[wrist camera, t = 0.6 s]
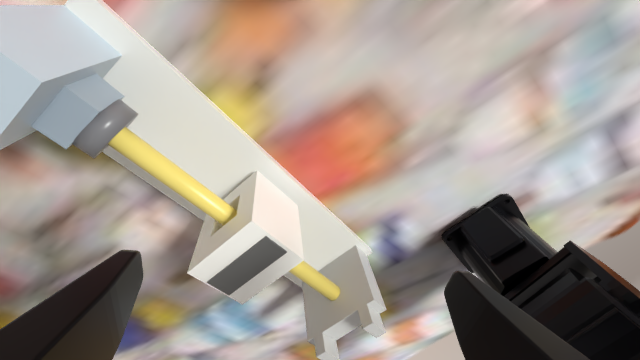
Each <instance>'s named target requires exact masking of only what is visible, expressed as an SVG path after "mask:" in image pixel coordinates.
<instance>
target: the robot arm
mask: <svg viewBox="0 0 640 360" xmlns="http://www.w3.org/2000/svg"><path fill="white" fill-rule="evenodd" d="M442 239H443V240H444V242H445V243H446V244H447V245H448V246H449V248H450V249H451V250H452V251H453V252H454V254H455V255H456V256H457V257H458V258H459V259H460V261H461V262H462V263H463V264H464V265H465V267H466V268H467V269H468V270H469V271H470V272H471V273H470V272H467V271H456V272H454V273H453V275H452V277H451V278H450V280H449V282H448V284H447V286H446V287H445V290H444V295H445V299H446V303H447V306H448V309H449V312H450V316H451V319H452V322H453V325H454V329H455V332H456V335H457V338H458V341H459V344H460V347H461V350H462V352H463V355H464V357H465V360H640V291H639V290H638V289H636V288H635V287H634V286H633V285H631V284H630V283H629V282H628V281H626V280H625V279H624V278H622V277H621V276H620V275H618V274H617V273H616V272H615V271H613V270H612V269H611V268H609V267H608V266H607V265H605V264H604V263H603V262H601V261H600V260H598V259H597V258H595V257H594V256H592V255H591V254H589V253H588V252H587V251H585V250H584V249H582V248H581V247H579V246H578V245H576V244H575V243H573V242H572V241H569V242H567V243H566V244H565V245H564V248H562V249H561V250H560V251H559V252H557V251H556V250H554V249H553V248H552V247H551V246H550V245H549V244H548V243H546V242H545V241H544V240H543V239H542V238H541V237H540V236H538V235H537V234H536V233H535V232H534V231H533V230H532V229H530V227H529V226H528V224H527V222H526V220H525V219H524V217H523V215H522V213H521V212H520V210H519V208H518V206H517V205H516V203H515V201H514V200H513V198H512V197H511V196H510V195H508V194H503V195H502V196H500V197H498V198H497V199H495V200H494V201H492V202H491V203H489V204H488V205H486V206H485V207H483V208H482V209H480V210H478V211H477V212H475V213H474V214H472V215H471V216H469V217H468V218H466V219H465V220H463V221H462V222H460V223H459V224H457V225H455V226H454V227H452V228H451V229H449V230H448V231H446V232H445V233H444V234H443V235H442ZM472 273H475V274H476V275H477V276H478V278H477V277H476V276H474V275H473V274H472ZM142 280H143V268H142V259H141V254H140V252H139V251H134V250H121V251H119V252H117V253H116V254H114V255H113V256H111V257H110V258H108V259H107V260H105V261H104V262H102V263H100V264H99V265H97V266H96V267H94V268H93V269H91V270H90V271H88V272H87V273H85V274H84V275H82V276H81V277H79V278H78V279H76V280H75V281H73V282H72V283H70V284H69V285H67V286H65V287H64V288H62V289H61V290H59V291H58V292H56V293H55V294H53V295H52V296H50V297H49V298H47V299H46V300H44V301H43V302H41V303H40V304H38V305H37V306H35V307H33V308H32V309H30V310H29V311H27V312H26V313H24V314H23V315H21V316H20V317H18V318H17V319H15V320H14V321H12V322H11V323H9V324H8V325H6V326H5V327H3V328H1V329H0V360H112V359H113V357H114V355H115V353H116V351H117V348H118V346H119V344H120V342H121V339H122V336H123V334H124V331H125V328H126V326H127V323H128V320H129V317H130V314H131V312H132V309H133V306H134V303H135V301H136V298H137V295H138V292H139V289H140V287H141V284H142Z"/></svg>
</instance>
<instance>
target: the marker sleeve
mask: <svg viewBox="0 0 640 360" xmlns="http://www.w3.org/2000/svg"><path fill="white" fill-rule="evenodd" d="M223 200H224V201H225V202H226V203H228V204H229V205H230V206H232V207H233V208H234V209H236V210H237V215H236V216H235V217H234V218H233V219H231V220H230V221H229V222H228V223H227V224H225V225H224V226H223V225H222V224H220V223H219V222H218V221H216V220H215V219H213V218H212V217H210V216H209V215H208V214H206V217H205V220H204V223H203V226H202V229H201V232H200V235H199V238H198V241H197V244H196V247H195V250H194V253H193V256H192V259H191V262H190V266H189V269H188V272H187V273H188V274H189V275H191V276H193V277H195V278H196V279H198V280H200V281H202V282H204V283H205V284H207V285H209V286H211V287H212V288H214V289H216V290H218V291H219V292H221V293H223V294H225V295H226V296H228V297H230V298H232V299H234V300H235V301H237V302H239V303H241V304H244V303H245V302H247V301H248V300H249V299H251V298H252V297H254V296H255V295H256V294H258V293H259V292H261V291H262V290H263V289H265V288H266V287H267V286H269V285H270V284H272V283H273V282H274V281H276V280H277V279H279V278H280V277H281V276H283V275H284V274H286V273H287V272H288V271H290V270H291V269H292V268H294V267H295V266H297V265H298V264H299V263H301V262H302V261H304V255H303V247H302V238H301V229H300V220H299V211H298V205H297V204H296V203H294V202H293V201H292V200H291V199H290V198H289V197H288V196H286V195H285V194H284V193H283V192H282V191H281V190H279V189H278V188H277V187H276V186H275V185H274V184H273V183H271V182H270V181H269V180H268V179H267V178H266V177H264V176H263V175H262V174H261V173H260V172H259V171H258V170H257V171H256V172H254V173H253V174H252V175H251V176H250V177H249V178H247V179H246V180H245V181H244V182H243V183H242V184H241V185H239V186H238V187H237V188H236V189H235V190H234V191H232V192H231V193H230V194H229V195H228V196H227V197H225V198H224V199H223Z"/></svg>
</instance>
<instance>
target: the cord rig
mask: <svg viewBox="0 0 640 360" xmlns="http://www.w3.org/2000/svg"><path fill="white" fill-rule="evenodd" d="M35 131H39V132H40V133H42V134H43V135H45V136H46V137H48V138H50V139H51V140H53V141H54V142H56V143H57V144H59V145H60V146H62V147H63V148H65V149H67V148H69V147H70V146H72V145H74V146H76V147H77V148H79V149H80V150H82V151H83V152H85V153H86V154H88V155H89V156H91V157H92V158H95V157H96V156H98V155H99V154H100V153H101V152H103V153H104V154H106V155H107V156H109V157H110V158H112V159H113V160H115V161H116V162H118V163H119V164H121V165H122V166H124V167H125V168H126V169H128V170H129V171H131V172H132V173H134V174H135V175H137V176H138V177H140V178H141V179H143V180H144V181H146V182H147V183H148V184H150V185H151V186H153V187H154V188H156V189H157V190H159V191H160V192H162V193H163V194H165V195H166V196H167V197H169V198H170V199H172V200H173V201H175V202H176V203H178V204H179V205H181V206H182V207H184V208H185V209H187V210H188V211H189V212H191V213H192V214H194V215H195V216H197V217H198V218H200V219H201V220H203V221H204V220H205V217H206V214H208V215H209V216H210V217H212V218H213V219H215V220H216V221H218V222H219V223H220V224H222V225H223V226H224V225H225V224H227V223H228V222H229V221H230V220H231V219H233V218H234V217H235V216H236V215H237V210H236V209H234V208H233V207H232V206H230V205H229V204H228V203H226V202H225V201H224V200H223V199H224V198H225V197H227V196H228V195H229V194H230V193H231V192H232V191H234V190H235V189H236V188H237V187H238V186H239V185H241V184H242V183H243V182H244V181H245V180H246V179H247V178H249V177H250V176H251V175H252V174H253V173H254V172H256V171H257V170H258V171H259V172H260V173H261V174H262V175H263V176H264V177H266V178H267V179H268V180H269V181H270V182H271V183H273V184H274V185H275V186H276V187H277V188H278V189H279V190H281V191H282V192H283V193H284V194H285V195H286V196H288V197H289V198H290V199H291V200H292V201H293V202H294V203H296V204H297V205H298V211H299V220H300V229H301V238H302V247H303V255H304V261H302V262H301V263H299V264H298V265H297V266H295V267H294V268H292V269H291V270H290V271H288V272H287V273H286V274H284V275H283V276H285V277H286V278H288V279H289V280H291V281H292V282H293V283H295V284H296V285H298V286H299V287H301V288H302V289H303V298H304V308H305V318H306V329H307V339H308V342H309V343H311V344H313V345H315V350H316V357H317V358H319V359H321V360H340V359H339V354H338V348H337V343H336V340H338V339H339V338H341V337H343V336H344V335H346V334H348V333H349V332H351V331H353V330H354V329H356V328H357V327H359V326H361V325H362V328H363V329H364V330H365V331H367V332H368V333H370V334H371V335H373V336H374V337H376V338H377V337H379V336H381V335H382V334H384V333H386V331H385V328H384V325H383V322H382V319H381V316H380V313H382V312H383V311H385V310H387V309H386V307H385V304H384V301H383V298H382V296H381V293H380V290H379V288H378V285H377V282H376V279H375V277H374V274H373V271H372V268H371V266H370V263H369V260H368V257H367V256H368V255H370V254H371V253H372V250H371V248H370V247H369V246H368V245H367V244H366V243H365V242H364V241H363V240H361V239H360V238H359V237H358V236H357V235H356V234H355V233H354V232H353V231H352V230H351V229H350V228H348V227H347V226H346V225H345V224H344V223H343V222H342V221H341V220H340V219H339V218H338V217H337V216H335V215H334V214H333V213H332V212H331V211H330V210H329V209H328V208H327V207H326V206H325V205H324V204H322V203H321V202H320V201H319V200H318V199H317V198H316V197H315V196H314V195H313V194H312V193H311V192H309V191H308V190H307V189H306V188H305V187H304V186H303V185H302V184H301V183H300V182H299V181H298V180H296V179H295V178H294V177H293V176H292V175H291V174H290V173H289V172H288V171H287V170H286V169H285V168H283V167H282V166H281V165H280V164H279V163H278V162H277V161H276V160H275V159H274V158H273V157H272V156H270V155H269V154H268V153H267V152H266V151H265V150H264V149H263V148H262V147H261V146H260V145H259V144H257V143H256V142H255V141H254V140H253V139H252V138H251V137H250V136H249V135H248V134H247V133H246V132H244V131H243V130H242V129H241V128H240V127H239V126H238V125H237V124H236V123H235V122H234V121H233V120H231V119H230V118H229V117H228V116H227V115H226V114H225V113H224V112H223V111H222V110H221V109H220V108H218V107H217V106H216V105H215V104H214V103H213V102H212V101H211V100H210V99H209V98H208V97H207V96H205V95H204V94H203V93H202V92H201V91H200V90H199V89H198V88H197V87H196V86H195V85H194V84H192V83H191V82H190V81H189V80H188V79H187V78H186V77H185V76H184V75H183V74H182V73H181V72H179V71H178V70H177V69H176V68H175V67H174V66H173V65H172V64H171V63H170V62H169V61H168V60H166V59H165V58H164V57H163V56H162V55H161V54H160V53H159V52H158V51H157V50H156V49H155V48H153V47H152V46H151V45H150V44H149V43H148V42H147V41H146V40H145V39H144V38H143V37H142V36H140V35H139V34H138V33H137V32H136V31H135V30H134V29H133V28H132V27H131V26H130V25H129V24H127V23H126V22H125V21H124V20H123V19H122V18H121V17H120V16H119V15H118V14H117V13H116V12H114V11H113V10H112V9H111V8H110V7H109V6H108V5H107V4H106V3H105V2H104V1H103V0H68V1H67V2H66V3H65V5H0V150H1V149H3V148H5V147H7V146H9V145H11V144H13V143H14V142H16V141H18V140H20V139H22V138H24V137H26V136H28V135H30V134H31V133H33V132H35Z"/></svg>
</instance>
